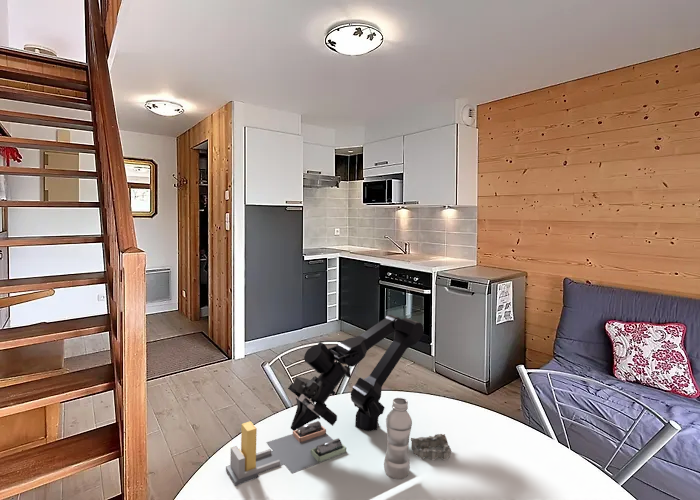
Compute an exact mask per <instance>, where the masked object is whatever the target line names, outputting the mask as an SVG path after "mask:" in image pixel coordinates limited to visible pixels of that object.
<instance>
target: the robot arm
mask: <svg viewBox="0 0 700 500" xmlns="http://www.w3.org/2000/svg"><path fill="white" fill-rule="evenodd" d="M392 333H394V336H393V341H392V342H391V344H390V345H389V346H388V348H387V349H386V351H385V352H384V354H383V355H382V357H380V359H379V361H378V362H377V363H376V365H375V367H374V368H373V369H372V371H371V373H370V374H369V375H368V376H367V377H364V378H362V377H359V378H358V379H357V381H356V383H354V385H353V386H352V387H351V389H352V390H351V391H350V399H351V402H353V404H354V407H356V408H358V409H357V411H356V414H355V423H354V424H355V425H354V427H355V428H357V429H359V430H362V431H365V432H373V431H378V428H379V425H380V424H379V417H380V416H381V415H383V413H384V411H385V409H386V407H385V406H384V405H383V404H382V403H381V402H380V399H381V397H382V388H383V386H384V384H385V383H386V381H387V380H388V378H389V376H390V374H391V373H392V371H393V370H394V369H395V368H396V365H397V364H398V362H399V361H400V360H401V358H402V357H403V355H404V354H405V352H406V350H407V349H409V348H411V347H413V346H414V345H416V344H417V343H418V342H419V341H420V340H421V338H422V337H423V335H424V333H425V330H424V326H423V323H421V322H418V321H416V320H412V319H411V318H407V317H405V318H400V317H397V316H396V315H393V314H387V315H386V316H385V318H383V319H382V320H380V321H379V322H377V323H376V324H375V325H373V326H372V327H370V328H368V329H367V330H366V331H364V332H363V333H361V334H360V335H357V336H355V337H354V336H353V337H350V338H347V339H344V340H342V341H340V342H338V344H337V345H334V346H332V347H329V348H328V347H327V345H326V344H325V343H323V342H321V341H319V342H318V343H317V344H315V345H313V346H311V347H310V348H308V349H307V350H306V351H305V353H304V356H303V360H304V362H305V363H306V364H307V365H309V366H310V367H311V368H312V369H313V370H314V371H315V372H317V373H318V374H319V375H318V376H315V375H314V376H313V377H312V378H311V379H309V378H305V377H301V376H297V375H296V376H295V378H294V380H293V382H292V383H290V385H289V386H288V388H287V389H288V390H289V392H292V394H294V395H295V396H297V397H295V401H296V405H297V407H296V411H295V413H294V417H293V420H292V422H291V425H290V429H291V430H292V432H293V431H295V430H297V429H298V428H300V427H302V426H304V425H307V424H310V423H312V422H313V421H315V420H317V419H318V420H321V418H322V419H323V420H325V421H326V422H327V423H328V424H330V425H331V426H332V427H333V426H334V425H335V423H336V422H337V421H338V415H337V414H336V413H335V412H334V411H332V410H331V409H330V408H329V407H328V406H327V404H326V402H327V400H328V399H329V398H330V396H331V395H332V396H335V394H336V391H335V389H336V387H337V386H338V385H339V383H340V382H341V380H343V378H344V377H347V378H351V367H355V366H357V365H358V364H359V363H360V362H361V361H362V360H363V359H364V358H365V357H366V355H367V352H369V350H370V349H371V348H373V347H374V346H376V345H377V344H378V343H380V342H381V341H382V340H384V339H386V338H387V337H389V336H390V335H392Z"/></svg>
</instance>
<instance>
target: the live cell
mask: <svg viewBox="0 0 700 500" xmlns="http://www.w3.org/2000/svg"><path fill="white" fill-rule="evenodd" d="M342 444H343V443H342V441H341V439H340V438H336V439H333V440H332V441H329V442H327V443H324V444H321V445H318V446H317V447H316V452H317V454H318V456H319V457H320V456H323V455H325V454H328V453H331V452H333V451H336V450H339V449H341V448H342Z"/></svg>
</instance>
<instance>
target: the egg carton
mask: <svg viewBox="0 0 700 500" xmlns="http://www.w3.org/2000/svg"><path fill="white" fill-rule="evenodd" d="M410 442H411V447H410V449H411V450H412V451H413V454H415V456H417V457H418V458H419V459H421V460H423V459H424V458H429V459H430V460H431V461H435V460H436V459H437V458H440V459H442V460H443V461H448V458H450V457H451V453H452V449H451V446H450V445H449V442H448V439H447V436H446V434H443V433H440V434H439V433H438V434H437V433H436V434H434V435H433V436H432V435H429V436H426V437H424V436H420V437H416V438H415V437H410ZM418 447H419V448H418ZM437 447H440V448H443V449H437ZM430 448H432V449H430ZM435 448H436V449H435Z"/></svg>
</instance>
